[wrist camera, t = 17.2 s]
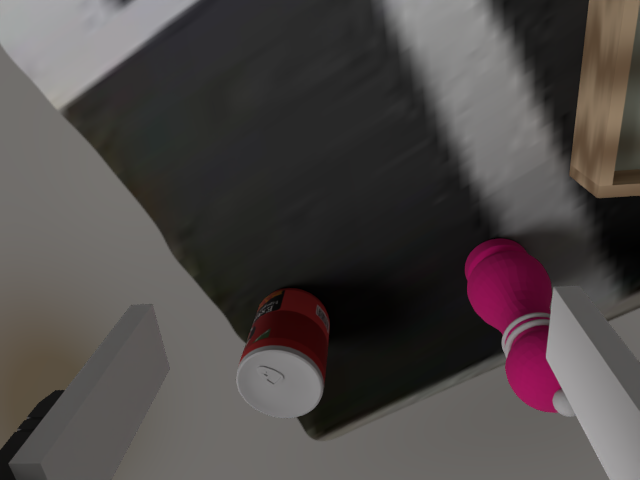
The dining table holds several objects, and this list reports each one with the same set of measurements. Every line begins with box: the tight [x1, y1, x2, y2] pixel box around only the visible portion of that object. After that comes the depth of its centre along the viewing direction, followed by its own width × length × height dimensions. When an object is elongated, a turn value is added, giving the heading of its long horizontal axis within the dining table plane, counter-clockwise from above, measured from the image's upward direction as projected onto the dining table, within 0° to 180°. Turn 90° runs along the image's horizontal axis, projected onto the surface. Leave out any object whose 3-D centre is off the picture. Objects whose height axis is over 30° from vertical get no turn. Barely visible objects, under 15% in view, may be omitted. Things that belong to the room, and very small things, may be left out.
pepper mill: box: [465, 238, 576, 416], centre depth 41 cm, size 7×7×20 cm
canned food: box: [236, 288, 330, 418], centre depth 50 cm, size 8×8×11 cm
